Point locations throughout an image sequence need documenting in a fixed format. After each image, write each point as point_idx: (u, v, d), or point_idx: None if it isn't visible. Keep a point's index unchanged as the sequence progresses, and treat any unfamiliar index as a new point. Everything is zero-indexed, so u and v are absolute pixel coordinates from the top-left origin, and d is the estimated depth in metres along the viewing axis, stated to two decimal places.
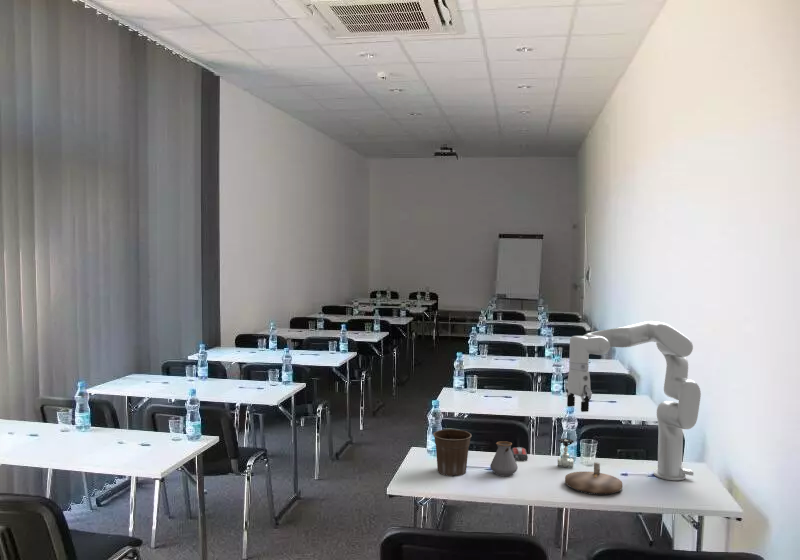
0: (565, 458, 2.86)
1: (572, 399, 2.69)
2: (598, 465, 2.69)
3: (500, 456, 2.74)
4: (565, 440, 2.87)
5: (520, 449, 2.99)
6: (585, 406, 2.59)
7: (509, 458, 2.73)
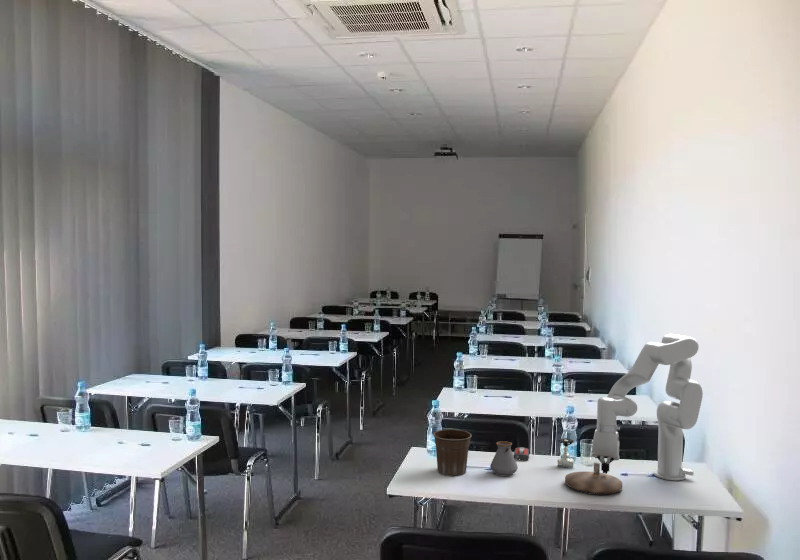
0: (565, 458, 2.86)
1: None
2: (598, 465, 2.69)
3: (500, 456, 2.74)
4: (565, 440, 2.86)
5: (522, 449, 2.99)
6: (608, 468, 2.67)
7: (509, 458, 2.73)
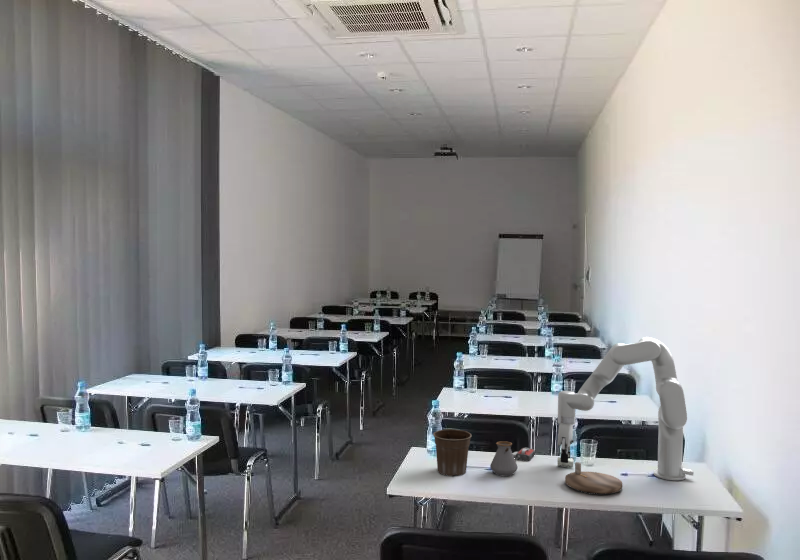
0: None
1: None
2: (580, 464, 2.69)
3: (500, 456, 2.74)
4: None
5: (525, 449, 2.99)
6: None
7: (509, 458, 2.73)
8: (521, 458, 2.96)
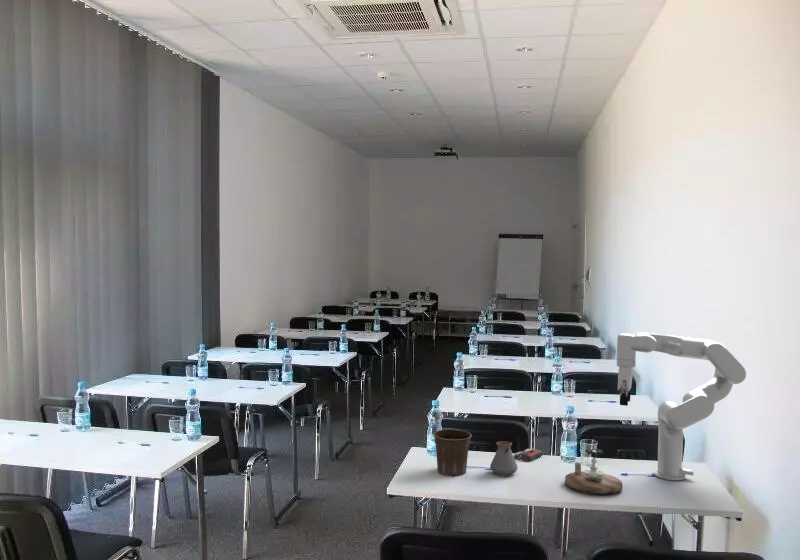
0: (593, 470, 2.61)
1: None
2: (580, 464, 2.69)
3: (500, 456, 2.74)
4: (593, 451, 2.61)
5: (528, 450, 2.98)
6: None
7: (509, 458, 2.73)
8: (523, 458, 2.96)
